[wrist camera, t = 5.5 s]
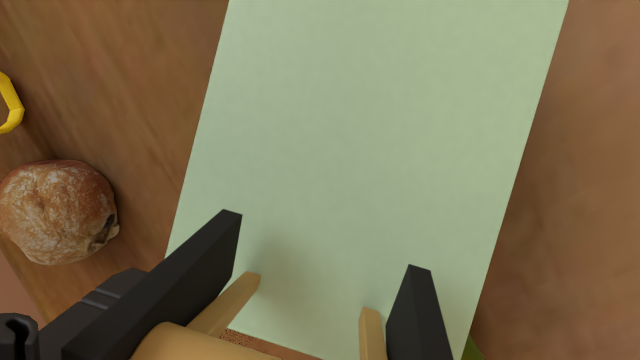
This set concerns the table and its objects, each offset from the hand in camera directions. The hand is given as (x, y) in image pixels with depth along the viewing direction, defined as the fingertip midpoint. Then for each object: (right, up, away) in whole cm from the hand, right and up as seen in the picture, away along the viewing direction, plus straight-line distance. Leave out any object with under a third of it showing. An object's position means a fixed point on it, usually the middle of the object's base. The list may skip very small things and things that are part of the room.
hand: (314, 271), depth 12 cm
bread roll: (-24, +1, +21) cm, 32 cm away
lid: (+1, +4, +2) cm, 5 cm away
